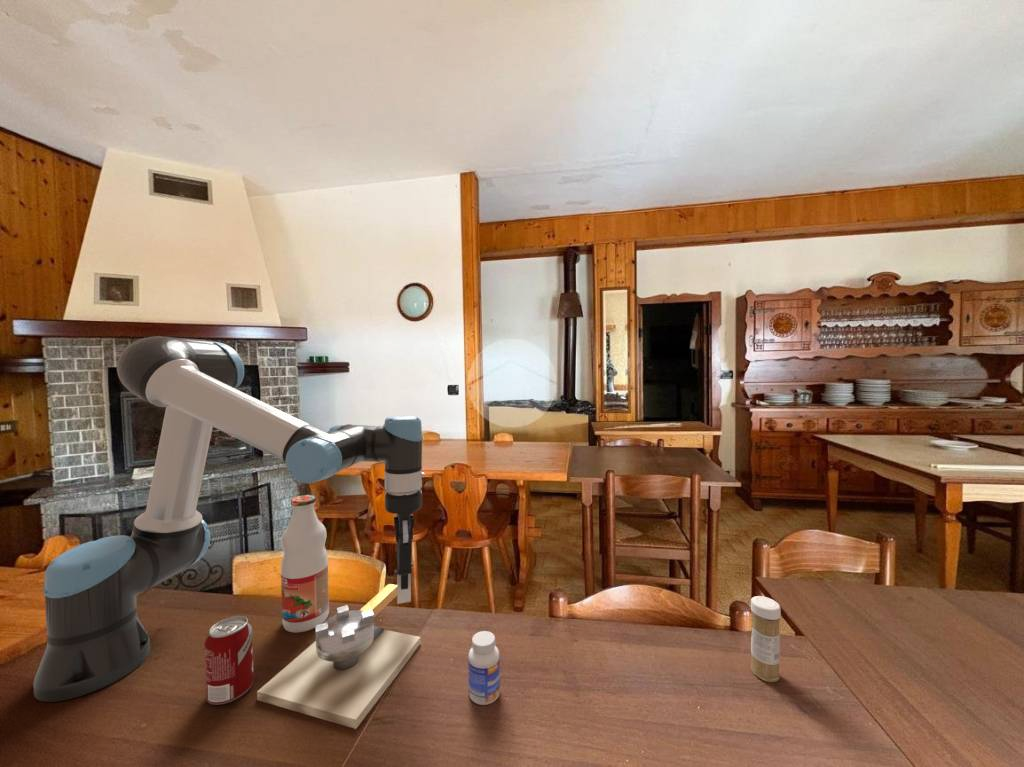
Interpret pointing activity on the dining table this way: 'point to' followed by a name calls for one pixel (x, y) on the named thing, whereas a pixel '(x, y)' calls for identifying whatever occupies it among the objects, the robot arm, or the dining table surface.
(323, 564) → the fruit juice
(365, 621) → the frying pan on burner
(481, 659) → the pill bottle
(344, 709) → the board
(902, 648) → the dining table surface
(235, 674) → the soda can
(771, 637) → the sprinkles bottle
